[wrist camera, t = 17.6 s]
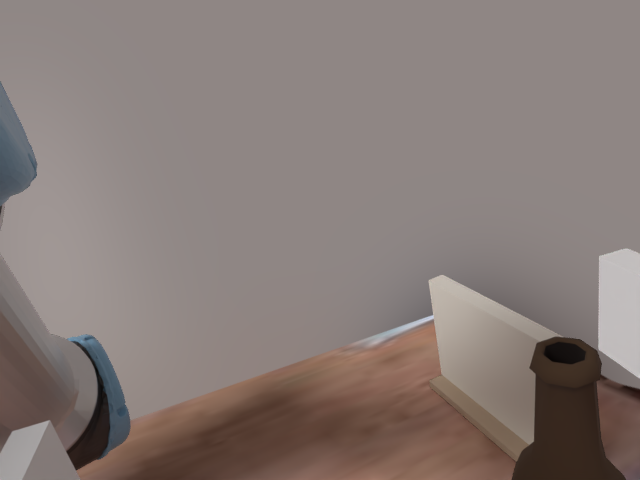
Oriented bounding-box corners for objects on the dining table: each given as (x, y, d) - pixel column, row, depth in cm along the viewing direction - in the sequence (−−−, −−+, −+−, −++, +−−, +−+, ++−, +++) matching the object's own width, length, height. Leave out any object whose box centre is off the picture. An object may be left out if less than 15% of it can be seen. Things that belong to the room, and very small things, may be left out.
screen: (430, 387, 63) (414, 286, 58) (466, 368, 65) (455, 269, 60) (557, 497, 46) (552, 367, 40) (602, 467, 47) (603, 339, 42)
